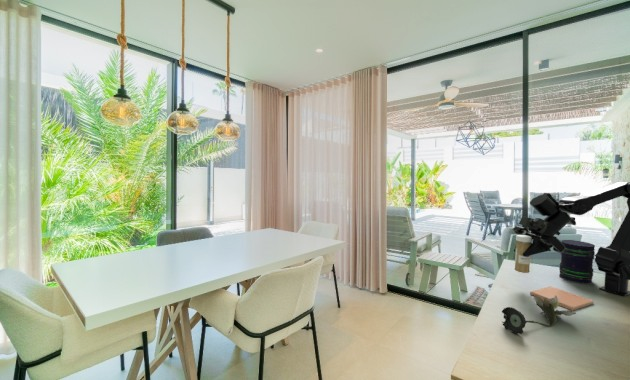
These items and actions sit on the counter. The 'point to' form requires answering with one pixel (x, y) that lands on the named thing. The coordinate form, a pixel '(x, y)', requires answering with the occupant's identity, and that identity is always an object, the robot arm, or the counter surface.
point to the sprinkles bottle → (521, 246)
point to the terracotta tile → (562, 297)
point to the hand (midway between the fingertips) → (519, 253)
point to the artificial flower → (517, 321)
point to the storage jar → (577, 261)
